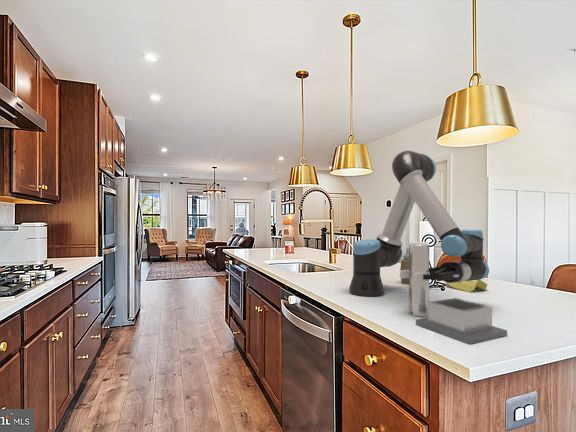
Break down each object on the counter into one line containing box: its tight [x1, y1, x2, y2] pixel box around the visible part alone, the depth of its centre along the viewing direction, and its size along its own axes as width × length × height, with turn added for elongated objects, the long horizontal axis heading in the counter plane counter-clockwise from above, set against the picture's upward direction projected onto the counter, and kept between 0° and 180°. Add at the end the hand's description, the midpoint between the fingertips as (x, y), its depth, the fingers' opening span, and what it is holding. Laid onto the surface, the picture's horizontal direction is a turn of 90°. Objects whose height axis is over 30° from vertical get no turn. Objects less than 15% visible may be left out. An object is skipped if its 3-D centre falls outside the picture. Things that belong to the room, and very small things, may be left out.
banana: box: [445, 279, 488, 293], centre depth 161 cm, size 20×7×10 cm
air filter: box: [408, 241, 430, 318], centre depth 114 cm, size 6×6×25 cm
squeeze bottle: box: [399, 247, 409, 285], centre depth 171 cm, size 8×8×18 cm
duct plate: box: [415, 297, 508, 345], centre depth 98 cm, size 18×16×8 cm
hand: (407, 275), depth 112 cm, fingers closed on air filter, 5 cm apart
